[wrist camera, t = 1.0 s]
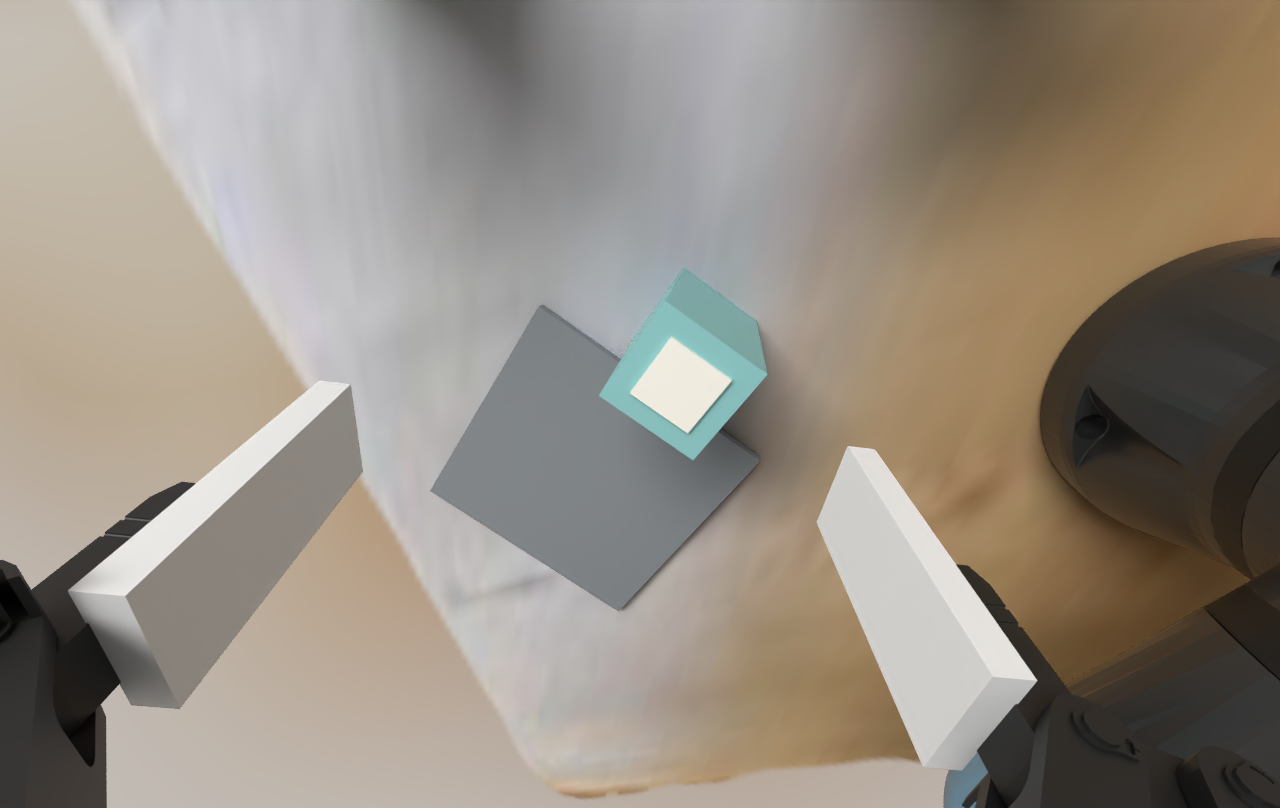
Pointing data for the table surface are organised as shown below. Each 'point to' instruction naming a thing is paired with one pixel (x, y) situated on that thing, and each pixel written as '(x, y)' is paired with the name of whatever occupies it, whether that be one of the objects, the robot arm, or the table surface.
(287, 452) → the robot arm
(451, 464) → the mat
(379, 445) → the table surface
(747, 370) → the block
